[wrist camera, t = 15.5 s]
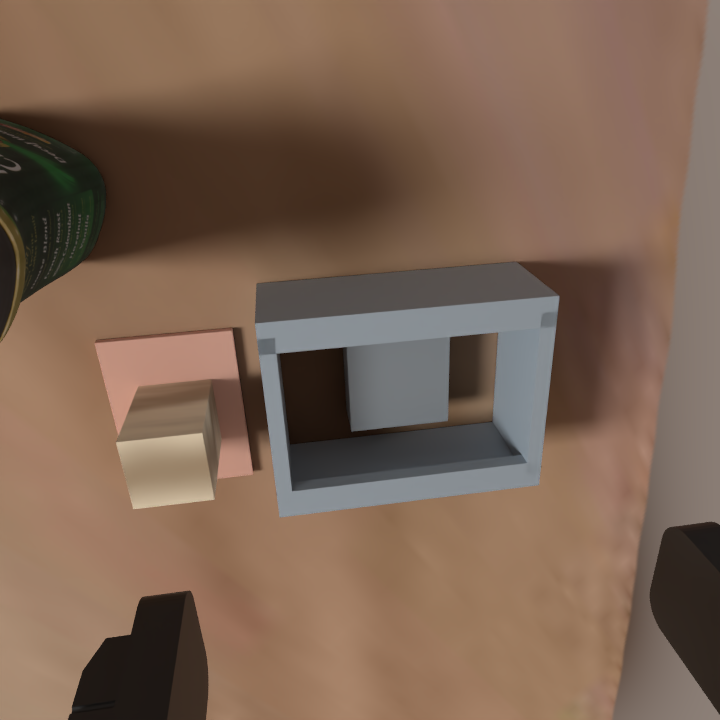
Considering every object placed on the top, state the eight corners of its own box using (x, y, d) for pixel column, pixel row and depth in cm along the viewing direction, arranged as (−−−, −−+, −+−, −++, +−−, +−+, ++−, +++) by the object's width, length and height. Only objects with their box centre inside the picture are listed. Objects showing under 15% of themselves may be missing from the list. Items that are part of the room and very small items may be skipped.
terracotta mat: (96, 340, 41) (94, 343, 40) (232, 327, 42) (231, 330, 41) (133, 484, 46) (131, 488, 46) (253, 470, 47) (253, 474, 47)
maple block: (137, 386, 42) (115, 442, 36) (211, 378, 43) (202, 432, 36) (152, 446, 44) (133, 509, 38) (221, 438, 45) (214, 499, 39)
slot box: (256, 283, 41) (254, 323, 34) (516, 261, 43) (559, 295, 36) (277, 456, 47) (279, 517, 41) (503, 431, 49) (538, 485, 42)
